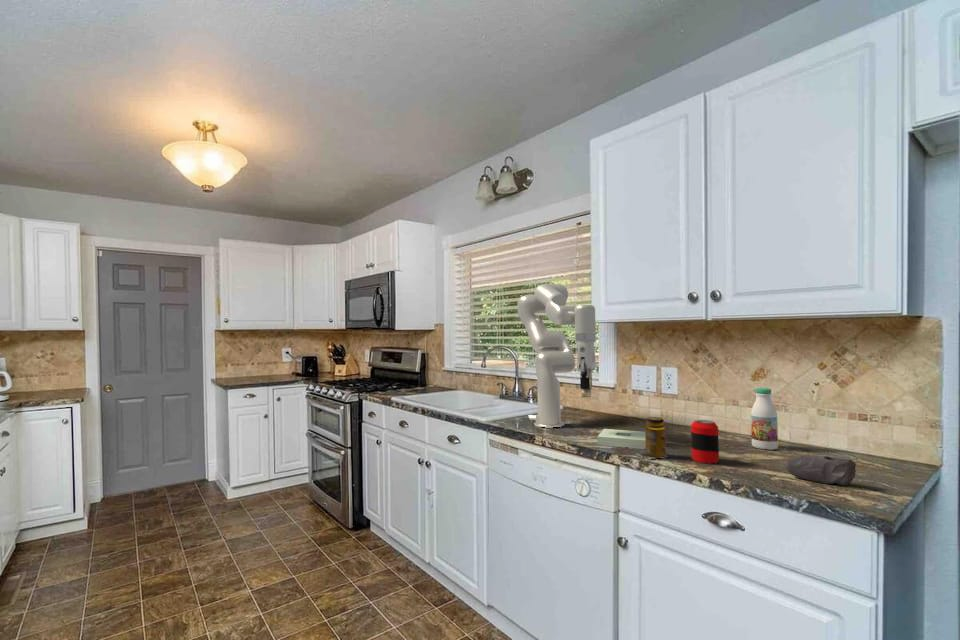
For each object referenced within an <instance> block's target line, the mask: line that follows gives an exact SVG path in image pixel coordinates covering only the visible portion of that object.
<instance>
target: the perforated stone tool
mask: <svg viewBox="0 0 960 640" xmlns="http://www.w3.org/2000/svg"><path fill="white" fill-rule="evenodd" d="M856 464H857V463H856V462H854V461H853V460H852V459H849V458H842V457H834V456H833V457H832V456H827V455H798V456H793V457H792V458H789V459H788V460H787V461H786V464H785V469H786V471H787V472H788V473H789V474H790V475H791V476H793V477H796V478H799V479H801V480H808V479H809V480H808V481H811V482H813V481H814V483H821V484H825V485H831V484H837V485H838V486H846V485H849V484H850V483H852V482H853V481H854V479H855V477H856V472H857V470H856Z"/></svg>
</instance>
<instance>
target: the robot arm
mask: <svg viewBox="0 0 960 640" xmlns="http://www.w3.org/2000/svg"><path fill="white" fill-rule="evenodd" d="M533 293H534V294H526V295H522V296H521V297H520V298H518V300H517V305H516V307H517V313H518V317H519V319H520V322H521V323H522V324H523V325H524V326H523V327H524V328H525V329H526V333H527V336H528V339H529V341H530V343H531V344H530V345H531V347H532V349H533V350H534V351H535V352H537V354H536V356H535V357H534V367H535V371H536V373H535V374H536V379H537V380H536V381H537V382H536V385H537V387H536V389H537V414H529V415H528V419H529V420H530V421H535V422H534V423H533V424H534V426H535V427H537V428H541V427H545V428H544V429H554V428H553V427H560V428H563V427H564V426H565V422H564V421H561V385H560V382H559V379H558V378H557V376H556V375H555V374H567V373H571V372H573V371H574V369H575V367H576V363H577V369H579V371H580V373H579V374H580V375H579V376H580V381H579V382H580V383H579V384H580V385H579V386H580V387H579V388H580V389H581V390H582V389H589V388H590V384H589V378H588V375H589V369H591V379H592V380H593V377H592V376H593V374H592V373H593V372H592V370H593V369H595V368H596V366H597V364H596V350H595V347H596V346H595V343H596V342H597V336H596V335H597V334H596V331H597V330H596V329H597V328H596V325H597V324H596V307H595V306H594V305H592V304H580V305H579V304H578V305H566V304H567V301H568V298H569V291H568V289H567V287H566V286H565V285H564V284H562V283H561V284H559V283H557V284H556V283H542V284H540V285H538V286H536V288H535V289H534V292H533ZM536 314H546V317H547V319H548V320H549V321H551V322H552V323H553V324H555V325H557V326H574V340H575V341H574V343H577V348H576V349H577V356H576V357H577V362H576V360H575V355H574V352H573V351H572V348H571V344H570V343H569V340H568V338H567V336H566V334H565V333H563V332H562V331H558V330H548V329H547V328H546V325H545V323H544V321H543V320H542V319H541V318H540V317H539V316H538V315H536ZM562 426H563V427H562Z"/></svg>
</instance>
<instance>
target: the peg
mask: <svg viewBox="0 0 960 640" xmlns="http://www.w3.org/2000/svg"><path fill="white" fill-rule="evenodd" d="M591 370H592V369H589V375H588V378H589V384H590V388H589V389H581V397H582V398H591V397H592V389H593V378H592V379H591Z"/></svg>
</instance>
